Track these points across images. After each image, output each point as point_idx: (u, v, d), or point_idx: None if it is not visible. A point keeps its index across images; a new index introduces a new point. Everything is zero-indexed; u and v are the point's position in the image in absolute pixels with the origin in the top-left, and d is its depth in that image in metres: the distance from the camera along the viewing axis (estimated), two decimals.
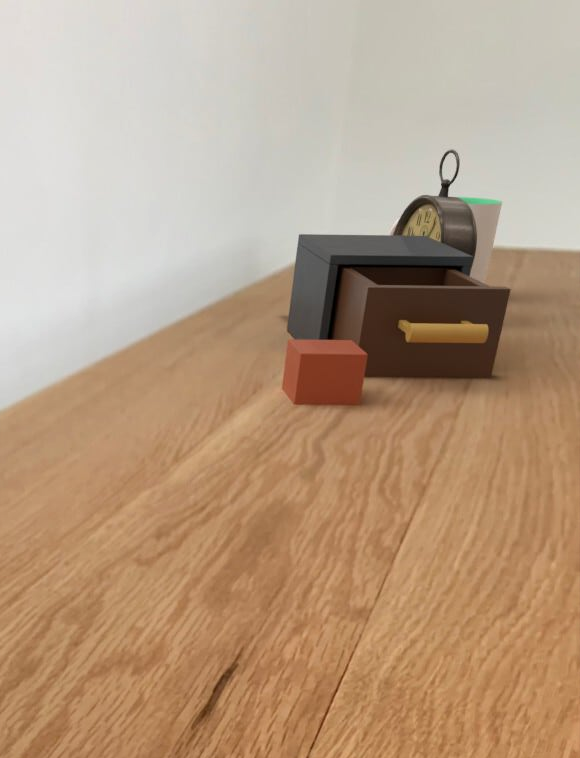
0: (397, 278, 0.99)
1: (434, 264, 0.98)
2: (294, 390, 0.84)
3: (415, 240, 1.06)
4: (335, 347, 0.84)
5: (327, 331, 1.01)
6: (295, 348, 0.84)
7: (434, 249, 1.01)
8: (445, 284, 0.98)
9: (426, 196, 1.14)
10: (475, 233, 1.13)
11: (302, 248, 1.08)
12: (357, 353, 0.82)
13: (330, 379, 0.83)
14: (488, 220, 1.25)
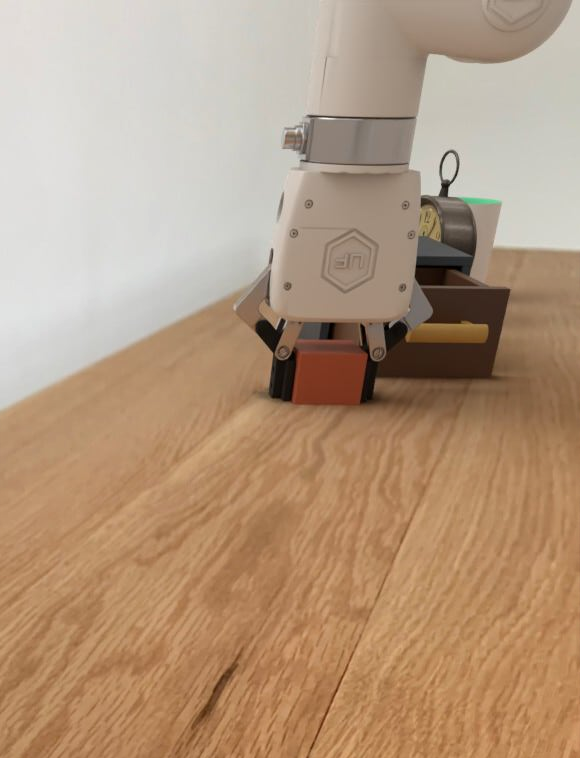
0: None
1: (434, 264, 0.98)
2: (294, 390, 0.84)
3: None
4: (335, 347, 0.84)
5: (327, 331, 1.01)
6: (295, 348, 0.84)
7: (434, 249, 1.01)
8: (445, 284, 0.98)
9: (426, 196, 1.14)
10: (475, 233, 1.13)
11: None
12: (357, 353, 0.82)
13: (330, 379, 0.83)
14: (488, 220, 1.25)
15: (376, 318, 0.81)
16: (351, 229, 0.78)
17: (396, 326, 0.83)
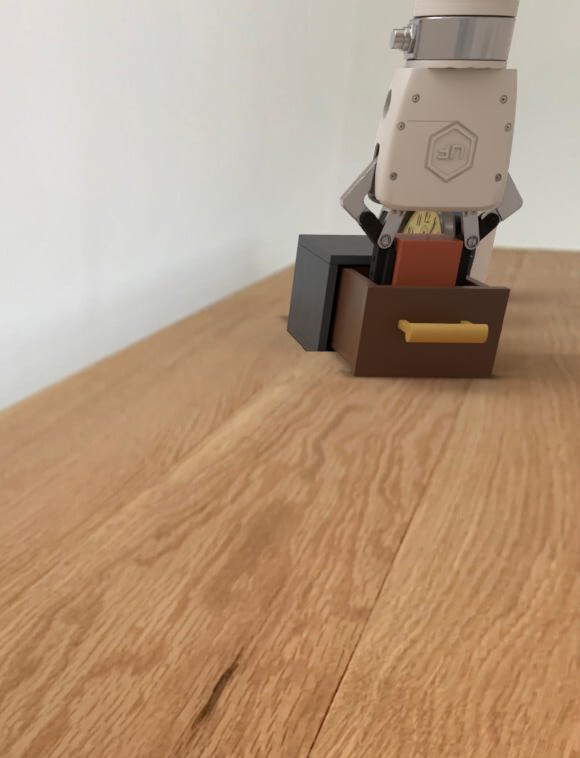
0: None
1: None
2: (394, 277, 0.92)
3: None
4: (432, 237, 0.92)
5: (327, 331, 1.01)
6: (395, 238, 0.92)
7: None
8: None
9: None
10: None
11: (302, 248, 1.08)
12: (454, 240, 0.90)
13: (428, 265, 0.91)
14: None
15: (473, 206, 0.88)
16: (453, 122, 0.85)
17: (489, 216, 0.90)
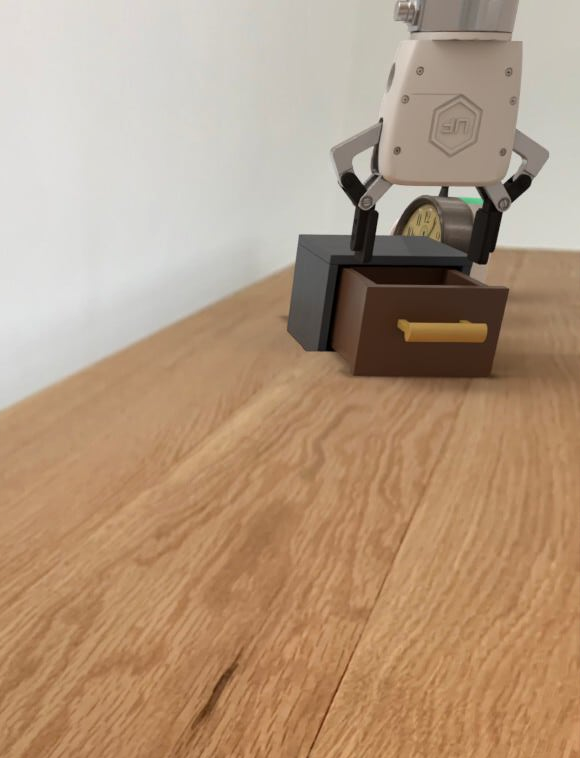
0: (396, 278, 1.00)
1: (434, 264, 0.98)
2: None
3: (415, 240, 1.06)
4: None
5: (327, 331, 1.01)
6: None
7: (434, 249, 1.01)
8: (444, 284, 0.99)
9: (426, 196, 1.14)
10: None
11: (302, 248, 1.08)
12: None
13: None
14: None
15: (477, 182, 0.88)
16: (458, 95, 0.84)
17: (521, 178, 0.89)
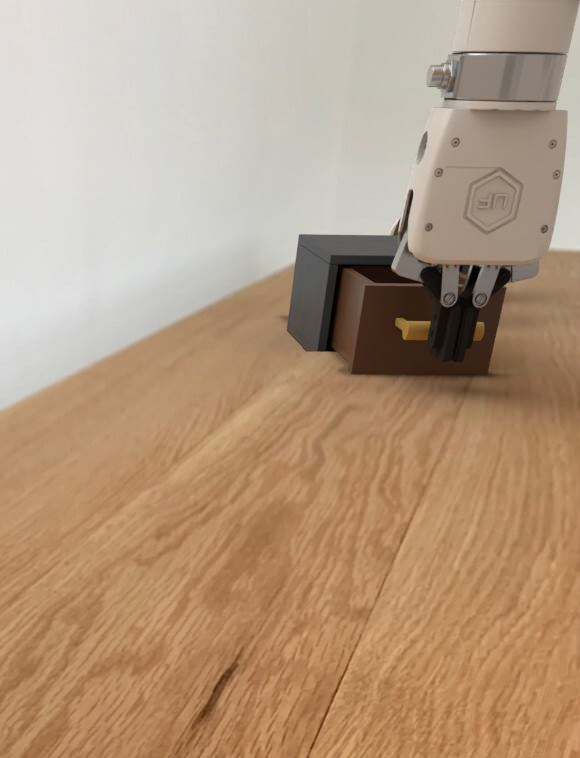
0: (394, 276, 1.00)
1: None
2: None
3: None
4: None
5: (327, 331, 1.01)
6: None
7: None
8: None
9: None
10: None
11: (302, 248, 1.08)
12: None
13: None
14: None
15: (516, 260, 0.80)
16: (496, 168, 0.77)
17: (499, 272, 0.82)
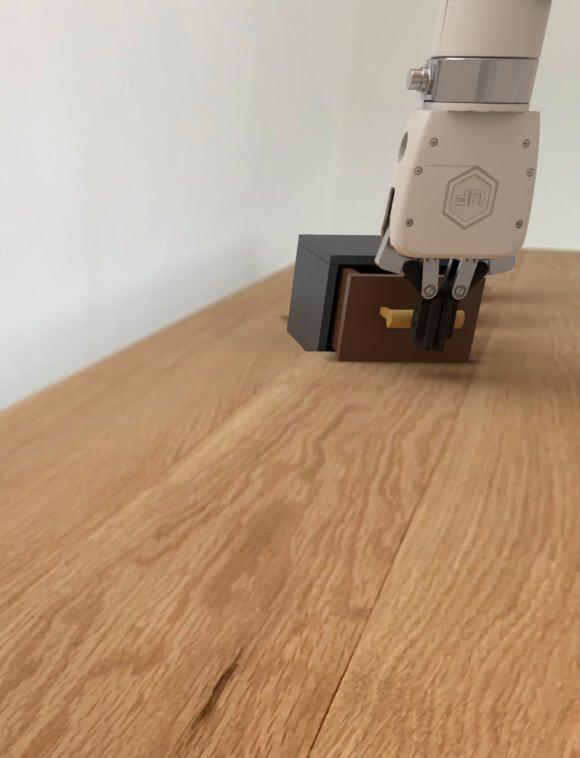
0: (380, 268, 1.04)
1: None
2: None
3: None
4: None
5: (327, 331, 1.01)
6: None
7: None
8: None
9: None
10: None
11: (302, 248, 1.08)
12: None
13: None
14: None
15: (492, 254, 0.84)
16: (473, 167, 0.81)
17: (477, 265, 0.86)
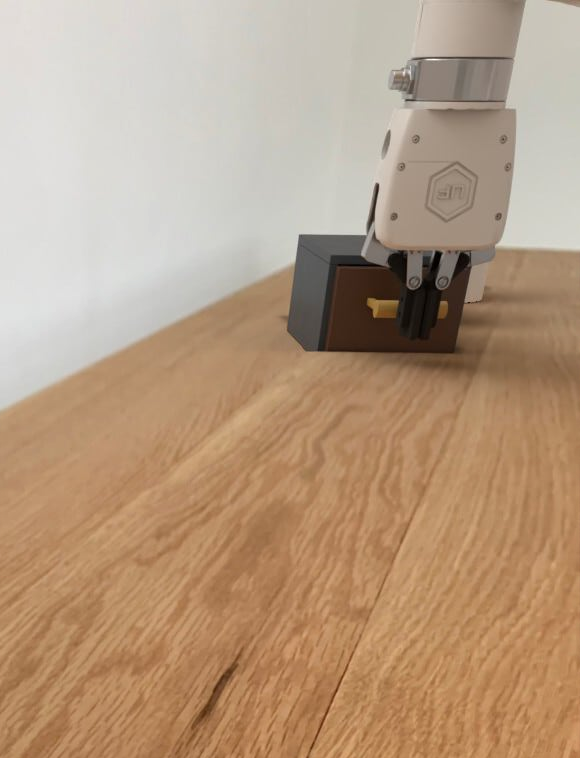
0: None
1: None
2: None
3: None
4: None
5: None
6: None
7: None
8: None
9: None
10: None
11: (302, 248, 1.08)
12: None
13: None
14: None
15: (473, 246, 0.88)
16: (453, 162, 0.85)
17: (459, 256, 0.90)
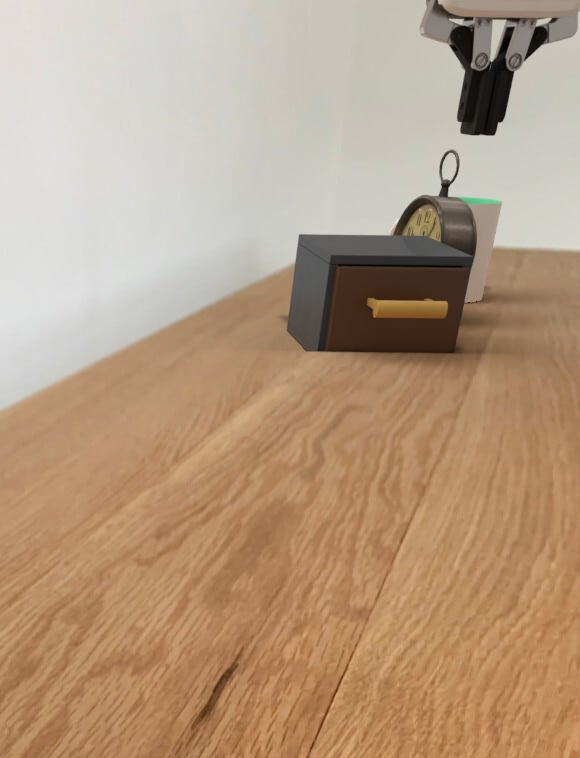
0: None
1: (434, 264, 0.98)
2: None
3: (415, 240, 1.06)
4: None
5: None
6: None
7: (434, 249, 1.01)
8: (413, 267, 1.07)
9: (426, 196, 1.14)
10: (475, 233, 1.13)
11: (302, 248, 1.08)
12: None
13: None
14: (488, 220, 1.25)
15: (553, 11, 0.75)
16: None
17: (535, 30, 0.77)
